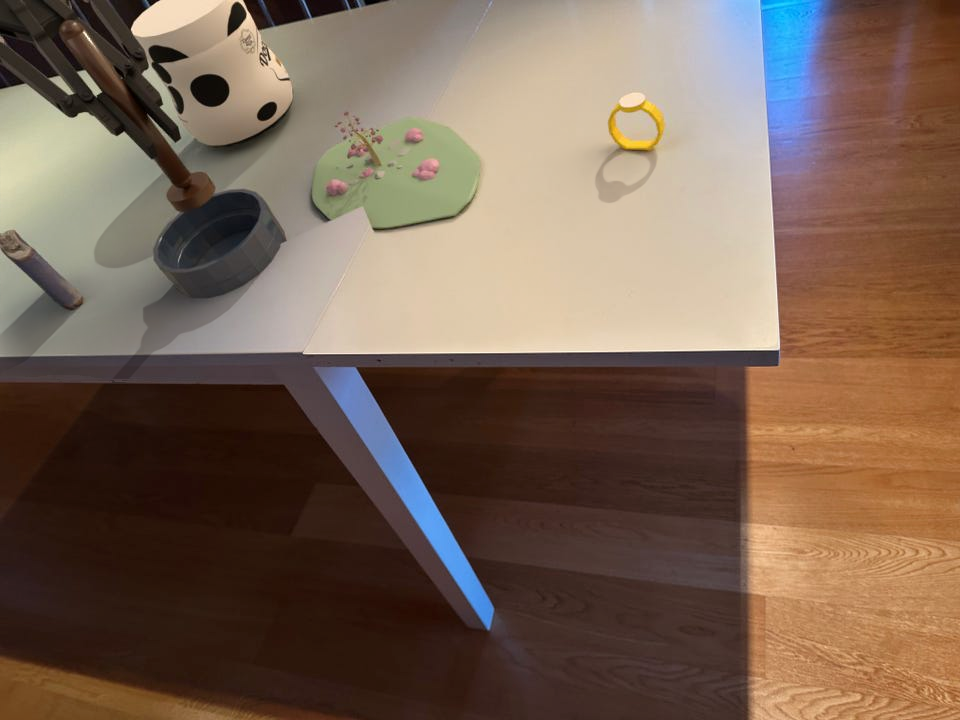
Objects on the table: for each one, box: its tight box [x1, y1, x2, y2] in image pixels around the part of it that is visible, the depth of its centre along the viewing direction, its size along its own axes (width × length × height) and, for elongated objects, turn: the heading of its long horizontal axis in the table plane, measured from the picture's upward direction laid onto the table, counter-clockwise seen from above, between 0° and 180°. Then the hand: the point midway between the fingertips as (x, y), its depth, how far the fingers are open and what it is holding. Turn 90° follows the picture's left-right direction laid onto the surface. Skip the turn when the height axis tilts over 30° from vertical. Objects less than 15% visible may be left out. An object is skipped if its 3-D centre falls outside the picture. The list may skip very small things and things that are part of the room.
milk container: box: [130, 0, 294, 148], centre depth 97 cm, size 17×17×18 cm
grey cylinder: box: [0, 229, 84, 310], centre depth 84 cm, size 9×3×11 cm, turn 47°
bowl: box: [152, 188, 288, 299], centre depth 79 cm, size 14×14×6 cm
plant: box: [311, 110, 482, 230], centre depth 81 cm, size 25×21×9 cm
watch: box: [607, 92, 666, 152], centre depth 73 cm, size 6×3×6 cm, turn 61°
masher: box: [58, 20, 216, 213], centre depth 66 cm, size 5×5×20 cm
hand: (164, 142), depth 65 cm, fingers closed on masher, 2 cm apart
